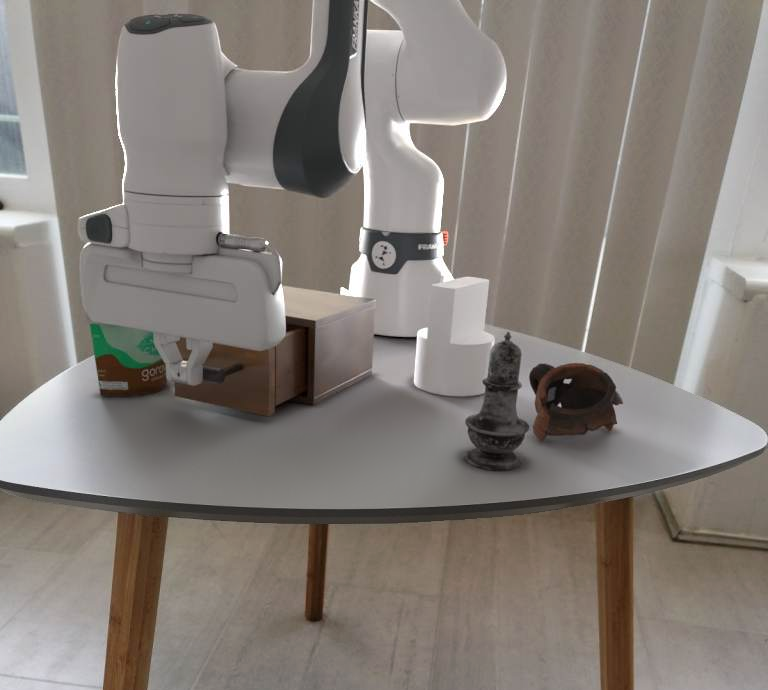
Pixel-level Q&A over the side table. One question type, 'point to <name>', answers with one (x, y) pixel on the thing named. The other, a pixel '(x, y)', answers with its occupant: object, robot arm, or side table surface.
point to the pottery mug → (572, 399)
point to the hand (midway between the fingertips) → (184, 382)
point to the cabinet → (332, 339)
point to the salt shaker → (498, 412)
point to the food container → (126, 360)
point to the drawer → (251, 374)
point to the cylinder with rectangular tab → (454, 339)
